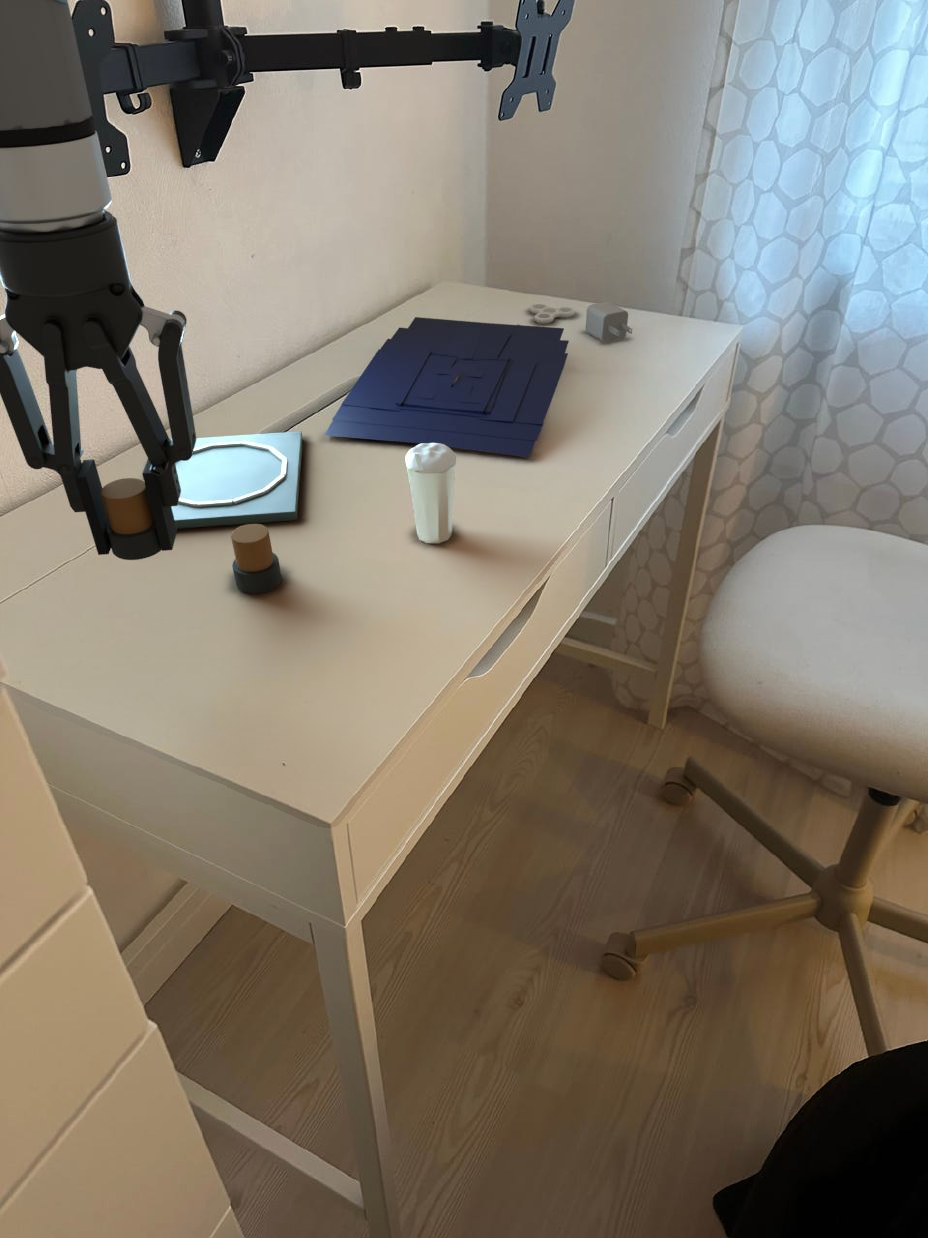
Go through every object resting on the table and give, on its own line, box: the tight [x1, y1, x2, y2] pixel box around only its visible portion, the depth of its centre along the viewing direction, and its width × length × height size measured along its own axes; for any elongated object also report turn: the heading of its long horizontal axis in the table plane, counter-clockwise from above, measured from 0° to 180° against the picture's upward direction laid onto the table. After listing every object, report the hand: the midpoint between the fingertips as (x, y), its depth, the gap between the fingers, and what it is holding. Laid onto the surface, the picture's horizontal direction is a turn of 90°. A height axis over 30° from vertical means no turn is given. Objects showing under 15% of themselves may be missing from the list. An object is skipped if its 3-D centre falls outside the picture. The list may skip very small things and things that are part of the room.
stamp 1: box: [101, 477, 162, 561], centre depth 67 cm, size 4×4×5 cm
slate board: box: [171, 430, 303, 530], centre depth 94 cm, size 16×18×1 cm
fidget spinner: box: [528, 303, 576, 324], centre depth 132 cm, size 7×6×1 cm
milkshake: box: [404, 443, 457, 544], centre depth 82 cm, size 4×5×10 cm
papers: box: [324, 316, 570, 458], centre depth 110 cm, size 24×30×4 cm
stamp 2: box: [230, 523, 282, 595], centre depth 78 cm, size 4×4×5 cm
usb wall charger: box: [585, 301, 633, 344], centre depth 124 cm, size 4×7×4 cm, turn 25°
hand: (138, 542), depth 68 cm, fingers closed on stamp 1, 4 cm apart
